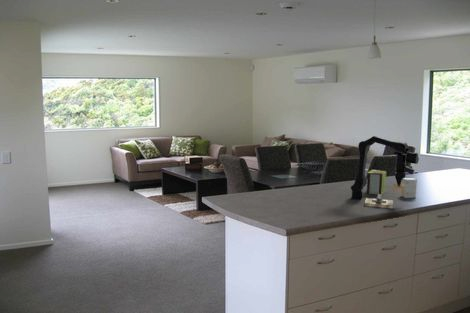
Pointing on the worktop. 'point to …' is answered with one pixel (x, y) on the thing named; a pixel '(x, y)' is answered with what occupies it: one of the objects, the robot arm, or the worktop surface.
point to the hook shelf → (384, 203)
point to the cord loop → (398, 187)
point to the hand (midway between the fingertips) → (398, 185)
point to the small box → (409, 187)
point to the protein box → (376, 182)
